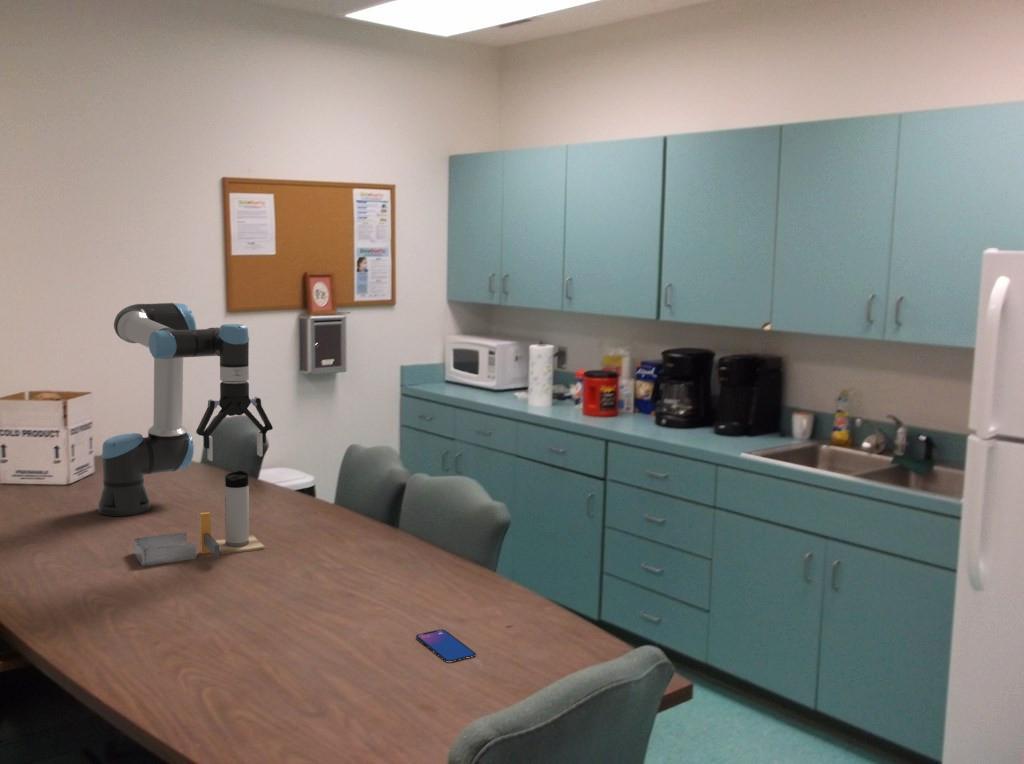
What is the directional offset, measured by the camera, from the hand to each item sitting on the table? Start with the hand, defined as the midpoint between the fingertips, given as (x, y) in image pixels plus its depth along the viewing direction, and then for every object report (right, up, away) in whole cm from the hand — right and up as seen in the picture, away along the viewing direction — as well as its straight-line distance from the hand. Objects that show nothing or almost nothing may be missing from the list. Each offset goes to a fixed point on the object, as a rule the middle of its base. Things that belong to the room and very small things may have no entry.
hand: (235, 457), depth 259 cm
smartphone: (+62, -36, -60) cm, 93 cm away
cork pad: (0, -25, +3) cm, 25 cm away
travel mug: (0, -24, +3) cm, 25 cm away
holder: (-17, -26, -7) cm, 32 cm away
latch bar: (-4, -26, -8) cm, 28 cm away
